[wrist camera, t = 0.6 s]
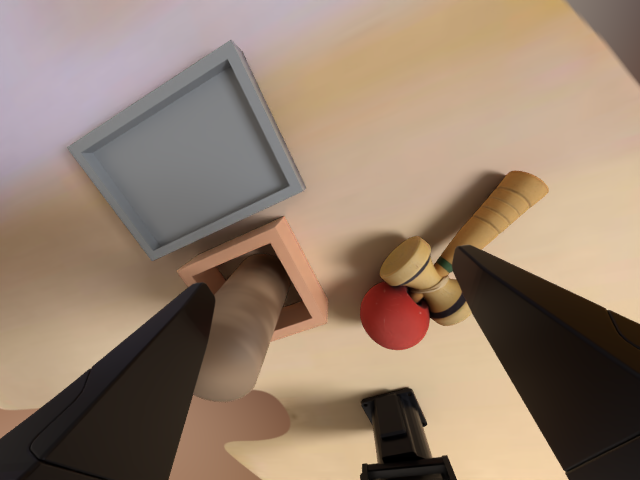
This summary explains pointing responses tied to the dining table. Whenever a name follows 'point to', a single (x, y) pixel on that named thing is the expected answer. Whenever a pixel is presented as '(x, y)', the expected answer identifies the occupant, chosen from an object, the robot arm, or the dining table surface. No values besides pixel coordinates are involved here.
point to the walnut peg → (242, 328)
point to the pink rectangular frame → (294, 262)
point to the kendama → (439, 270)
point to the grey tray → (191, 155)
